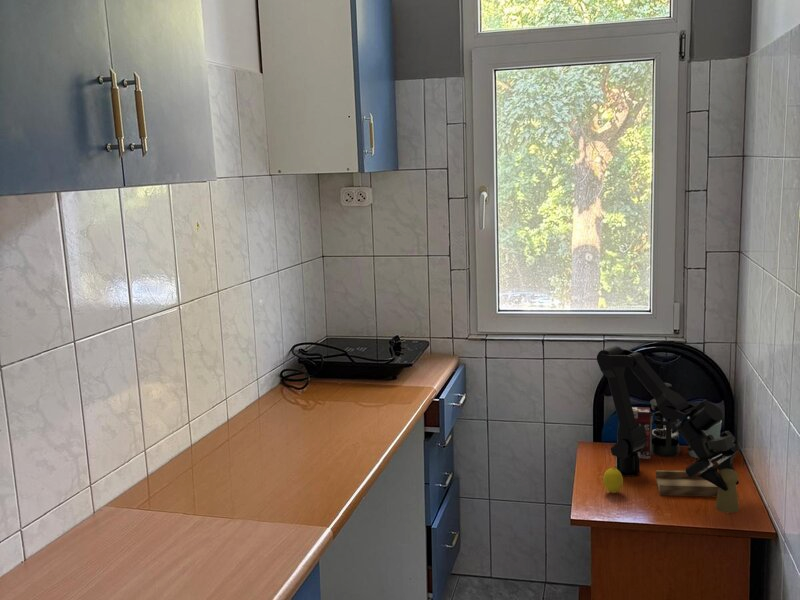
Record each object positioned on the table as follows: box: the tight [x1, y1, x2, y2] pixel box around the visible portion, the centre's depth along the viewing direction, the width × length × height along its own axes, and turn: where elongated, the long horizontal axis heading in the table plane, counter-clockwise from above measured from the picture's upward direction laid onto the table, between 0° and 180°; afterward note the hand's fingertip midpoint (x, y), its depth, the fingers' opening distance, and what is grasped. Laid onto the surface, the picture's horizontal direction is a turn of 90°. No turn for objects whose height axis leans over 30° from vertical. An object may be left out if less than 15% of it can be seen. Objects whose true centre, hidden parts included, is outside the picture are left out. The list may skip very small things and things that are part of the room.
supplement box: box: [632, 406, 652, 460], centre depth 255 cm, size 9×5×16 cm, turn 77°
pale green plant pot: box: [687, 417, 723, 459], centre depth 253 cm, size 10×10×12 cm
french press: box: [649, 382, 681, 458], centre depth 257 cm, size 12×9×23 cm
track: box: [655, 469, 719, 498], centre depth 232 cm, size 20×10×3 cm, turn 79°
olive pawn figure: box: [715, 469, 740, 514], centre depth 218 cm, size 6×6×11 cm
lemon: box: [602, 467, 624, 494], centre depth 231 cm, size 6×6×8 cm
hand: (732, 487), depth 217 cm, fingers closed on olive pawn figure, 5 cm apart
